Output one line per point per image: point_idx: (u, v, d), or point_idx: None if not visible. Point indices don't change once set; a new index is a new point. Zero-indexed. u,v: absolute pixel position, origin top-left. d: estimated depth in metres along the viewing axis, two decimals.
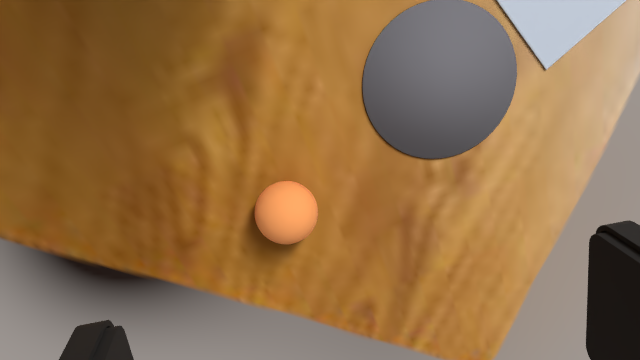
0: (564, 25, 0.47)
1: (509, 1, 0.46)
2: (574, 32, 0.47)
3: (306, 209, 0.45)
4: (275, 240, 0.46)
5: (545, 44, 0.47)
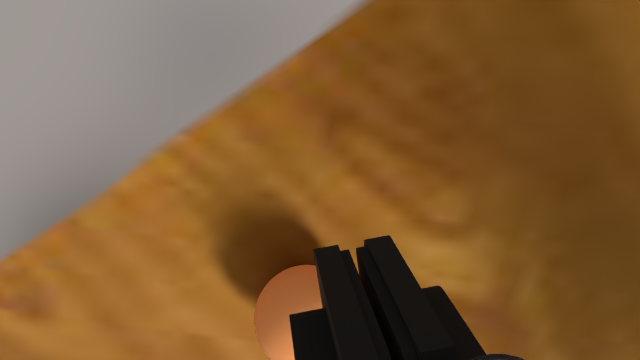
0: None
1: None
2: None
3: None
4: (292, 305, 0.26)
5: None
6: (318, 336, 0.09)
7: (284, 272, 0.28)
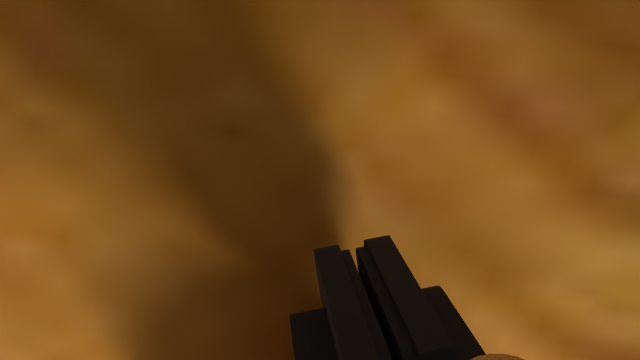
0: None
1: None
2: None
3: None
4: None
5: None
6: (320, 337, 0.09)
7: None
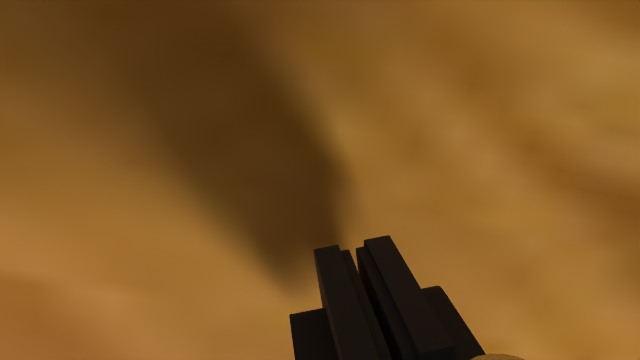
0: None
1: None
2: None
3: None
4: None
5: None
6: (320, 336, 0.09)
7: None
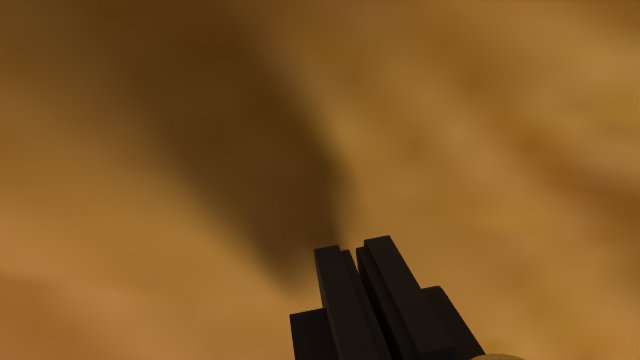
0: None
1: None
2: None
3: None
4: None
5: None
6: (320, 336, 0.09)
7: None
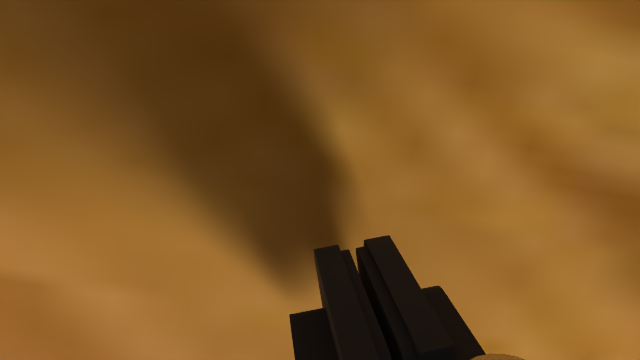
0: None
1: None
2: None
3: None
4: None
5: None
6: (320, 336, 0.09)
7: None
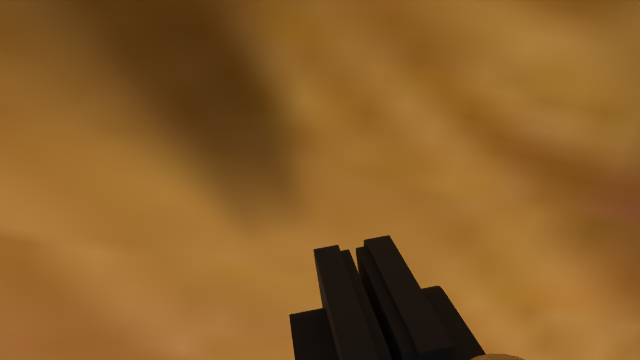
0: None
1: None
2: None
3: None
4: None
5: None
6: (320, 336, 0.09)
7: None
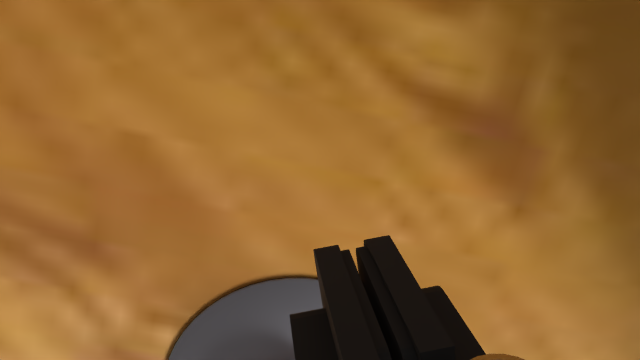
0: None
1: None
2: None
3: None
4: None
5: None
6: (319, 336, 0.09)
7: None
